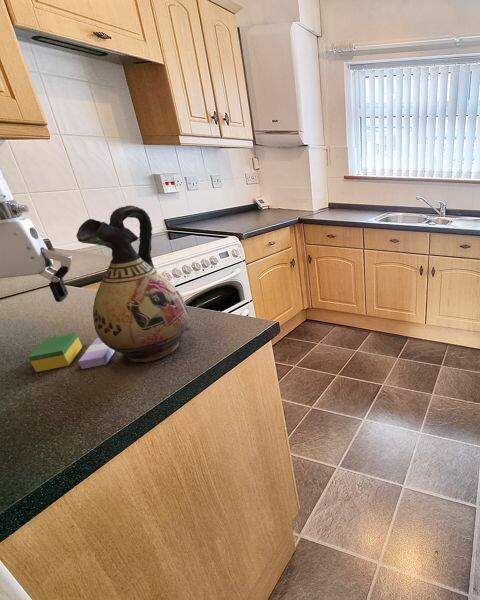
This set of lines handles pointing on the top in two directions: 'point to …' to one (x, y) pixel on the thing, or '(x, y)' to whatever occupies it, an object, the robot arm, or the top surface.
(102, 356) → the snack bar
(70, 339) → the sponge
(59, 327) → the top surface
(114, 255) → the ceramic jug
